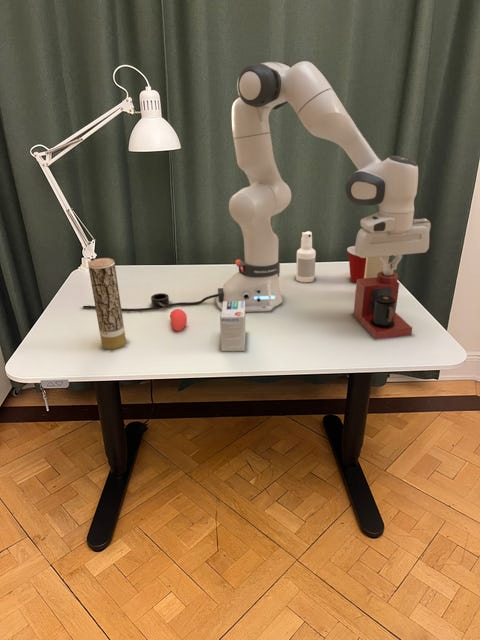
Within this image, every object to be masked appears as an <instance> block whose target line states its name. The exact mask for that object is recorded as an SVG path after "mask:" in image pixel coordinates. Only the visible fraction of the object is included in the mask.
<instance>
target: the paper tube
mask: <svg viewBox="0 0 480 640" xmlns="http://www.w3.org/2000/svg"><path fill="white" fill-rule="evenodd" d="M87 266H88V267H87V268H88V272H89V278H90V283H91V290H92V296H93V301H94V306H95V308H96V309H95V313H96V319H97V324H98V329H99V335H100V341H101V346H102V347H103V348H104V349H107V350H118V349H120V348H122V347H123V346H124V345H125V344H126V343H127V339H126V331H125V324H124V317H123V311H122V310H121V308H122V304H121V296H120V289H119V284H118V283H119V282H118V277H117V269H116V263H115V259H113V258H110V257H101V258H95V259H92V260H90V261H88V263H87Z"/></svg>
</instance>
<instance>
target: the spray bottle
mask: <svg viewBox="0 0 480 640" xmlns="http://www.w3.org/2000/svg"><path fill="white" fill-rule="evenodd" d="M300 240H301V241H300V248H297V250H296V264H295V265H296V266H295V267H296V268H295V279H296V281H297V282H300V283H311V282H313V281H314V280H315V276H316V275H315V274H316V273H315V271H316V255H317V252H316V249H314V248H313V232H312V231H310V230H307V231H305V232H303V231H302V232H301V239H300Z"/></svg>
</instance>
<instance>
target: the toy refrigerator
mask: <svg viewBox="0 0 480 640" xmlns="http://www.w3.org/2000/svg"><path fill="white" fill-rule="evenodd" d="M389 260H390V256H388V259H386V261H387V263H389ZM382 271H383V263H382V261H381V259H380V256H379V257H367V258H366V266H365V275H364V278H375V277H377V275H378V273H379V272H382Z"/></svg>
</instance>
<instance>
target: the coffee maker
mask: <svg viewBox="0 0 480 640" xmlns="http://www.w3.org/2000/svg"><path fill="white" fill-rule="evenodd" d="M398 279H399V274H398V273H397V272H395V271H394V272H393V276H392V277H385V276H383V271H382V272H379V273H378V275H377V277H375V278H363V279H357V283H355V284H356V285H355V293H354V307H353V316H354V317H355V318H356V319H357V321H358V322H359V323H360V324H361V318H362V316H366V315H374V311H370V306H371V296H372V289H382V288H392V289H391V296H390V297H392V298H393V299H394V300H395V310H394V313H397V312H396V310H397V304H398V296H399V289H400V282H398Z"/></svg>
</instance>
